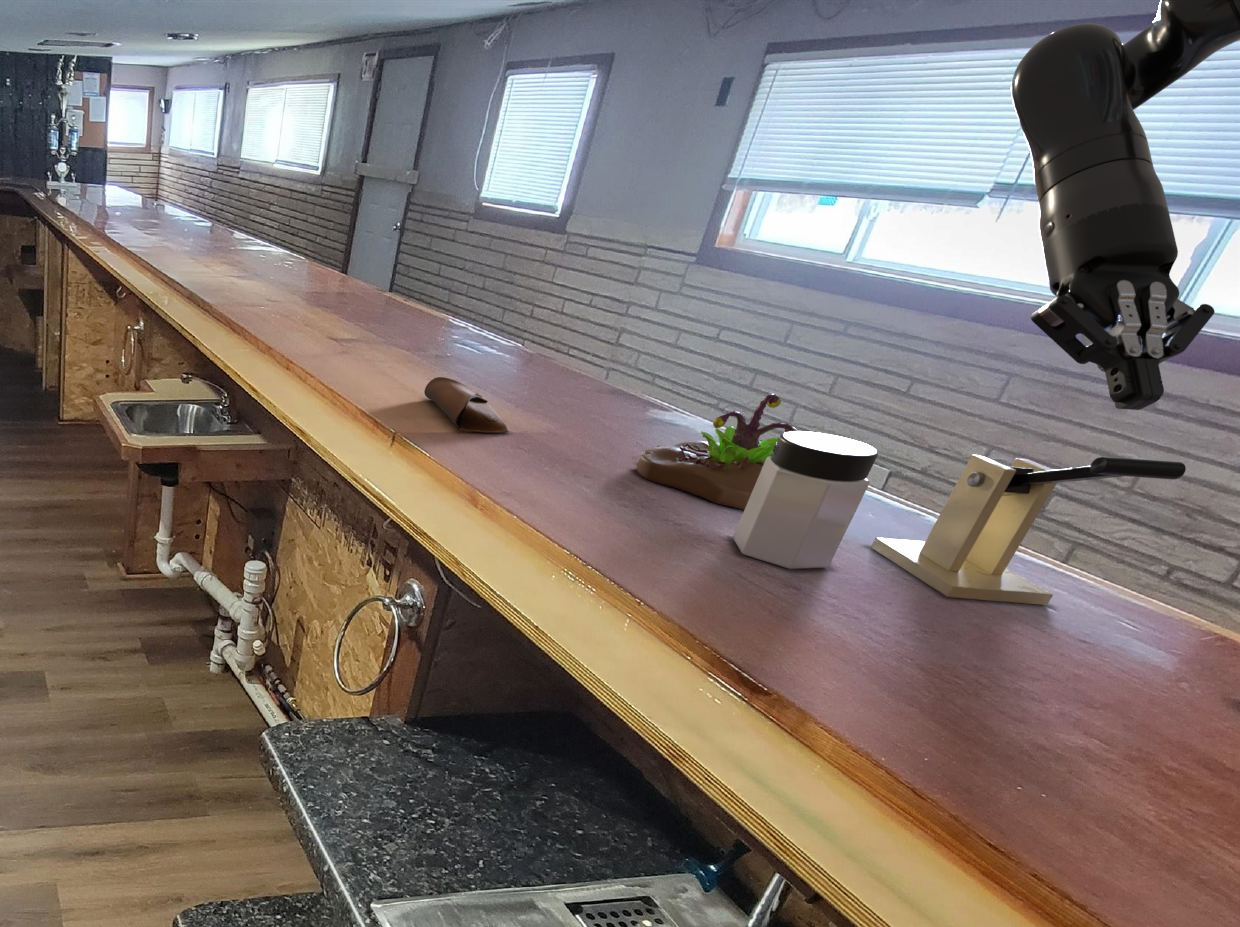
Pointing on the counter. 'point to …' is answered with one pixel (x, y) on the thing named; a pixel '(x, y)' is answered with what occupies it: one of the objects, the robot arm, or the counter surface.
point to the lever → (1095, 473)
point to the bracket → (977, 537)
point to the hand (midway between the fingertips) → (1139, 404)
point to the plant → (716, 459)
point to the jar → (804, 499)
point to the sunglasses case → (464, 406)
